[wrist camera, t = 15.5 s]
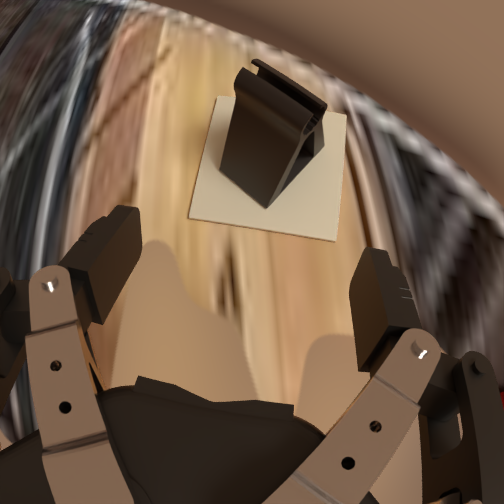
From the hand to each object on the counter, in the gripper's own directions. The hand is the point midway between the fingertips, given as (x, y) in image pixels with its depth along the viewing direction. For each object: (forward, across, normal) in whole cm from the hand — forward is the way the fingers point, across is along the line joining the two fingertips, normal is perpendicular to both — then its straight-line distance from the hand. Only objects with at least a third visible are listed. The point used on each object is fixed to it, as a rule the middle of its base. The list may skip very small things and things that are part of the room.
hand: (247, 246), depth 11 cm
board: (+22, 0, +5) cm, 22 cm away
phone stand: (+22, 0, +5) cm, 22 cm away
